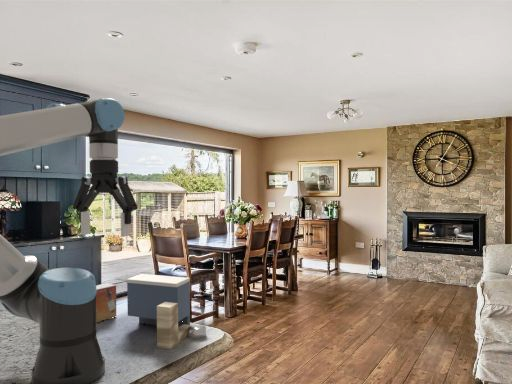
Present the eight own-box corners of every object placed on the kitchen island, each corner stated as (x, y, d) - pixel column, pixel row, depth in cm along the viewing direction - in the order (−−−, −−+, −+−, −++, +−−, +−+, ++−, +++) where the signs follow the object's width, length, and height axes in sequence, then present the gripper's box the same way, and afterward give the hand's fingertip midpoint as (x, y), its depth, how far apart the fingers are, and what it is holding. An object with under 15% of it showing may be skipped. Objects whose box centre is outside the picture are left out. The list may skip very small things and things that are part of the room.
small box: (94, 324, 127) (93, 290, 127) (84, 320, 130) (84, 287, 130) (117, 317, 133) (116, 284, 133) (107, 314, 137) (106, 282, 136)
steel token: (201, 340, 114) (201, 331, 114) (185, 338, 115) (184, 329, 115) (208, 334, 118) (208, 325, 118) (193, 332, 120) (193, 324, 120)
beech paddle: (170, 349, 107) (169, 307, 107) (157, 347, 108) (156, 306, 108) (194, 332, 119) (193, 294, 119) (182, 330, 121) (181, 293, 120)
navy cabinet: (177, 336, 116) (176, 283, 116) (126, 329, 122) (125, 279, 121) (190, 327, 123) (189, 277, 123) (141, 321, 129) (141, 273, 129)
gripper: (149, 159, 115) (150, 235, 115) (78, 161, 123) (79, 232, 123) (133, 157, 107) (134, 238, 108) (58, 159, 116) (59, 235, 116)
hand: (105, 235), depth 116 cm, fingers open, 13 cm apart
